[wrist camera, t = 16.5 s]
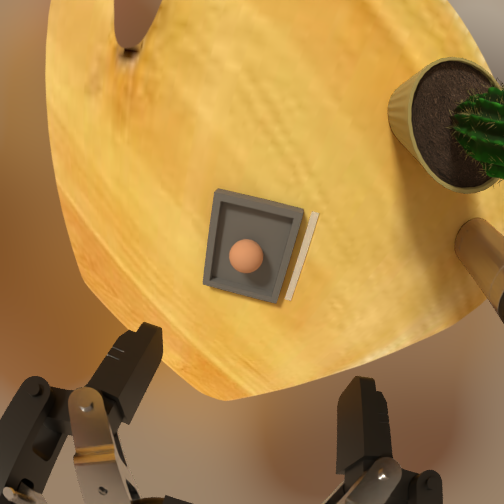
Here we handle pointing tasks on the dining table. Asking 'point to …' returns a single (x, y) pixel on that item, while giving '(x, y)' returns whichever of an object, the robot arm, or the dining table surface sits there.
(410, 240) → the dining table surface
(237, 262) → the ball
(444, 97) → the potted cactus
